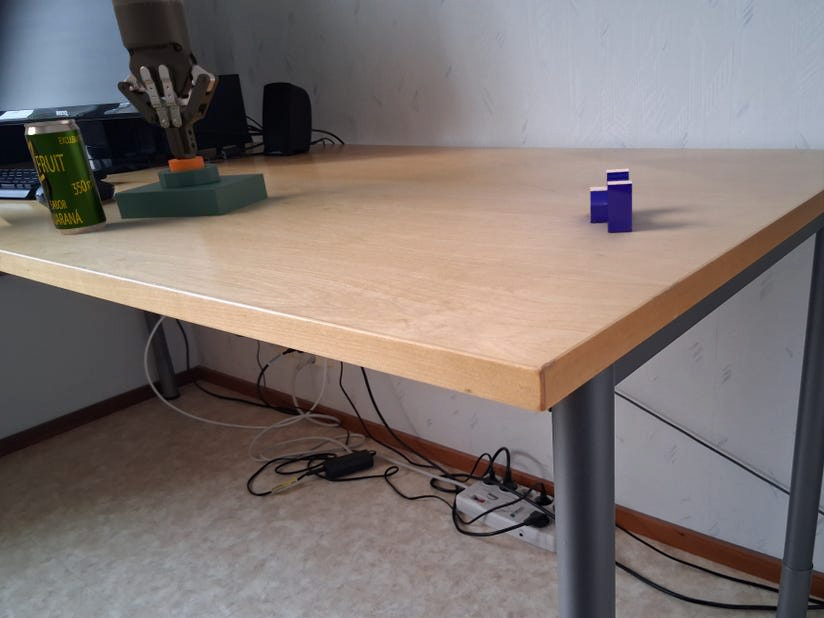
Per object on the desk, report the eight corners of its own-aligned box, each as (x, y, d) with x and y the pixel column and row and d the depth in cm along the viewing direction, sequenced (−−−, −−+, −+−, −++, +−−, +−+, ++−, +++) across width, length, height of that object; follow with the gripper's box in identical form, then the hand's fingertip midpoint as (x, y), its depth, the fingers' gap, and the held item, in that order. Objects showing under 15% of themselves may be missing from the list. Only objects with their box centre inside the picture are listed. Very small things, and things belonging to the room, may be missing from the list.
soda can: (76, 226, 83) (43, 121, 79) (118, 223, 83) (87, 117, 78) (46, 237, 78) (9, 126, 74) (91, 234, 78) (56, 122, 73)
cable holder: (590, 213, 67) (590, 171, 65) (628, 211, 66) (628, 168, 64) (590, 233, 59) (589, 185, 58) (631, 231, 59) (632, 183, 57)
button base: (121, 219, 85) (109, 178, 83) (177, 201, 95) (168, 164, 93) (220, 216, 82) (210, 172, 80) (268, 198, 92) (260, 159, 90)
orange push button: (165, 179, 86) (161, 161, 85) (185, 173, 89) (181, 157, 88) (193, 177, 85) (189, 160, 84) (212, 172, 88) (208, 155, 87)
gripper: (217, -2, 81) (249, 151, 88) (122, 10, 84) (160, 157, 91) (177, -6, 74) (214, 160, 81) (76, 7, 78) (120, 165, 84)
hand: (185, 158), depth 86 cm, fingers closed
